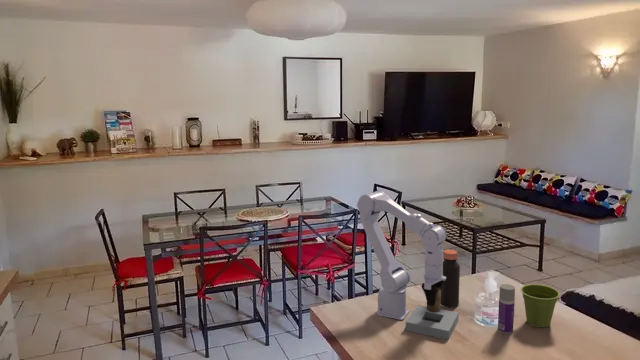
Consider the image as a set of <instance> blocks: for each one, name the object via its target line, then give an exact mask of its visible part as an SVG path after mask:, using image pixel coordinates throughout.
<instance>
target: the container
mask: <svg viewBox="0 0 640 360" xmlns="http://www.w3.org/2000/svg"><path fill="white" fill-rule="evenodd" d="M515 299H516V287H515V285H512V284H507V283H505V284H500V286H499V297H498V314H497V315H498V318H497V331H498V332H499V333H501V334H505V335H511V334H513V332H514V319H515V318H514V317H515V305H516V304H515V303H516V302H515Z"/></svg>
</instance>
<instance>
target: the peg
mask: <svg viewBox="0 0 640 360" xmlns="http://www.w3.org/2000/svg"><path fill="white" fill-rule="evenodd" d="M440 302H441V289H440V288H439V290H438V292H437V295H436V301H435V305H434V306H430V305H428V304H427V303H426V307H427V310H428V311H430V312H439V311H440V309H441V304H440Z"/></svg>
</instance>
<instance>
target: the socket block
mask: <svg viewBox="0 0 640 360" xmlns="http://www.w3.org/2000/svg"><path fill="white" fill-rule="evenodd" d="M459 316H460V313H459V312H457V311H451V310H445V309H441V308H440V311H439V312H430V311H428V310H427V305H426V306H425V305H421V304H420V305H419V304H418V305H417V306H416V307H415V309H414V310H413V312H412V313H411V314H410V315H409V317H407V320H406V321H405V332H410V333H417V334H419V335H423V336H428V337H429V336H430V337H434V338H439V339H444V340H448V341H449V340H450V338H451V336H452V334H453V332H454V331H455V328H456V327H457V325H458V323H459Z"/></svg>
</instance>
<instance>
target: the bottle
mask: <svg viewBox="0 0 640 360" xmlns="http://www.w3.org/2000/svg"><path fill="white" fill-rule="evenodd" d="M457 260H458V251H457V250H454V249H445V250H443V276H445V277H446V280H445V281H444V283H443V285H442V287H441V302H440V306H443V307H446V308H456V307H457V306H459V303H460V279H461V278H460V275H461V273H460V272H461V265H460V264H459V263H458V262H457Z"/></svg>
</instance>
